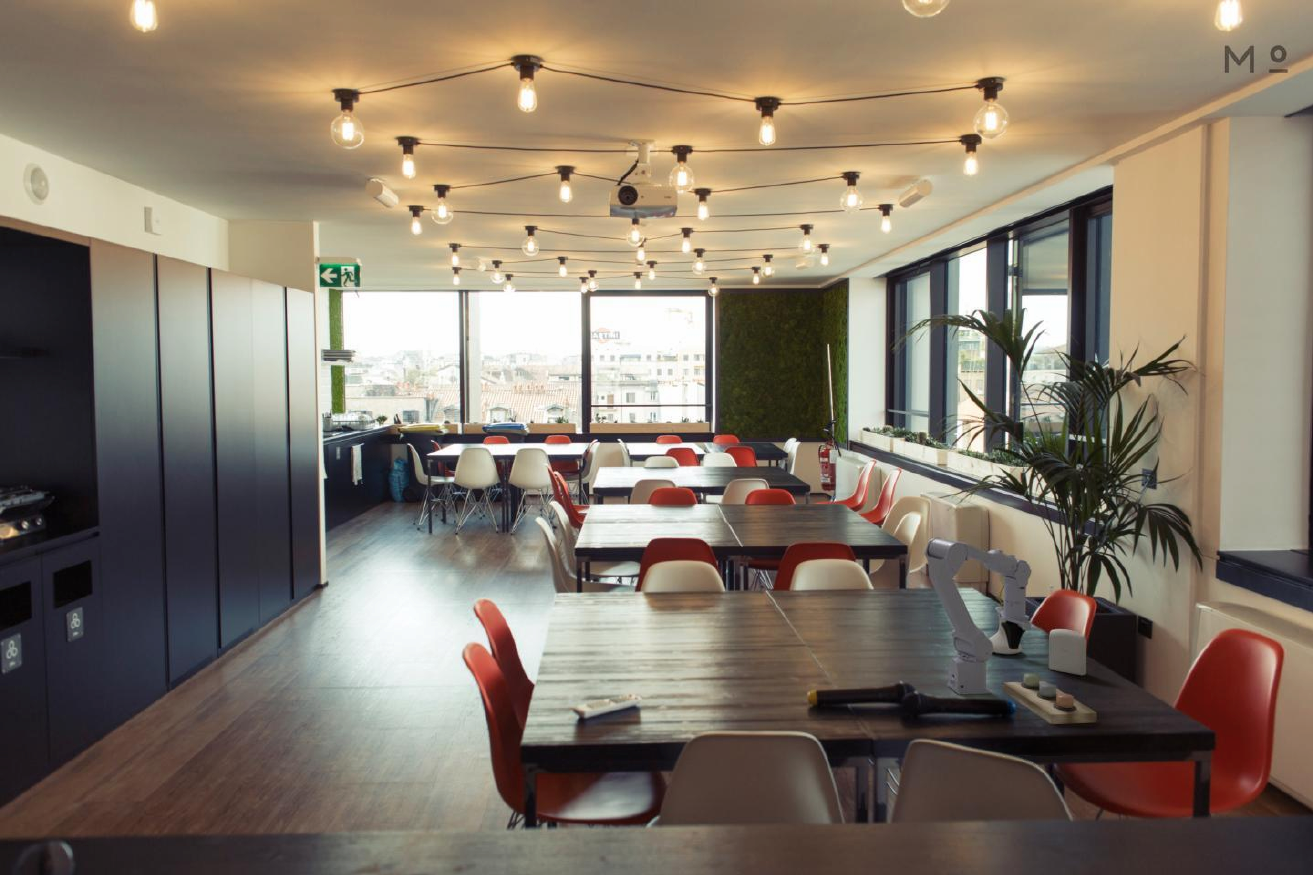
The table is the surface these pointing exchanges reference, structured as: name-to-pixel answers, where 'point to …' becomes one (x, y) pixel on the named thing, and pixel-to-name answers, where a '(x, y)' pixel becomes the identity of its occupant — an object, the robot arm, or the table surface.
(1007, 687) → the button panel
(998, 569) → the robot arm
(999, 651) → the flower in vase
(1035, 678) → the button sage
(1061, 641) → the photo printer
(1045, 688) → the button slate
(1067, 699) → the button terracotta
